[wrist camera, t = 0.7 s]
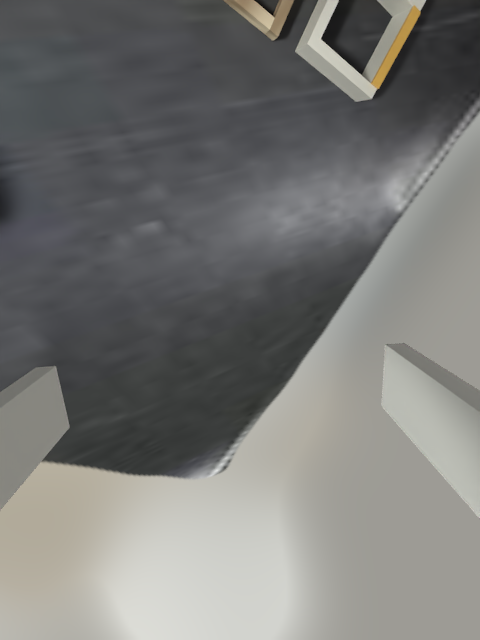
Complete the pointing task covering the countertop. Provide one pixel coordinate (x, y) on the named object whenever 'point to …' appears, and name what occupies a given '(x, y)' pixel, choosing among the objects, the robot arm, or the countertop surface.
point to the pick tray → (263, 15)
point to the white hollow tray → (405, 10)
